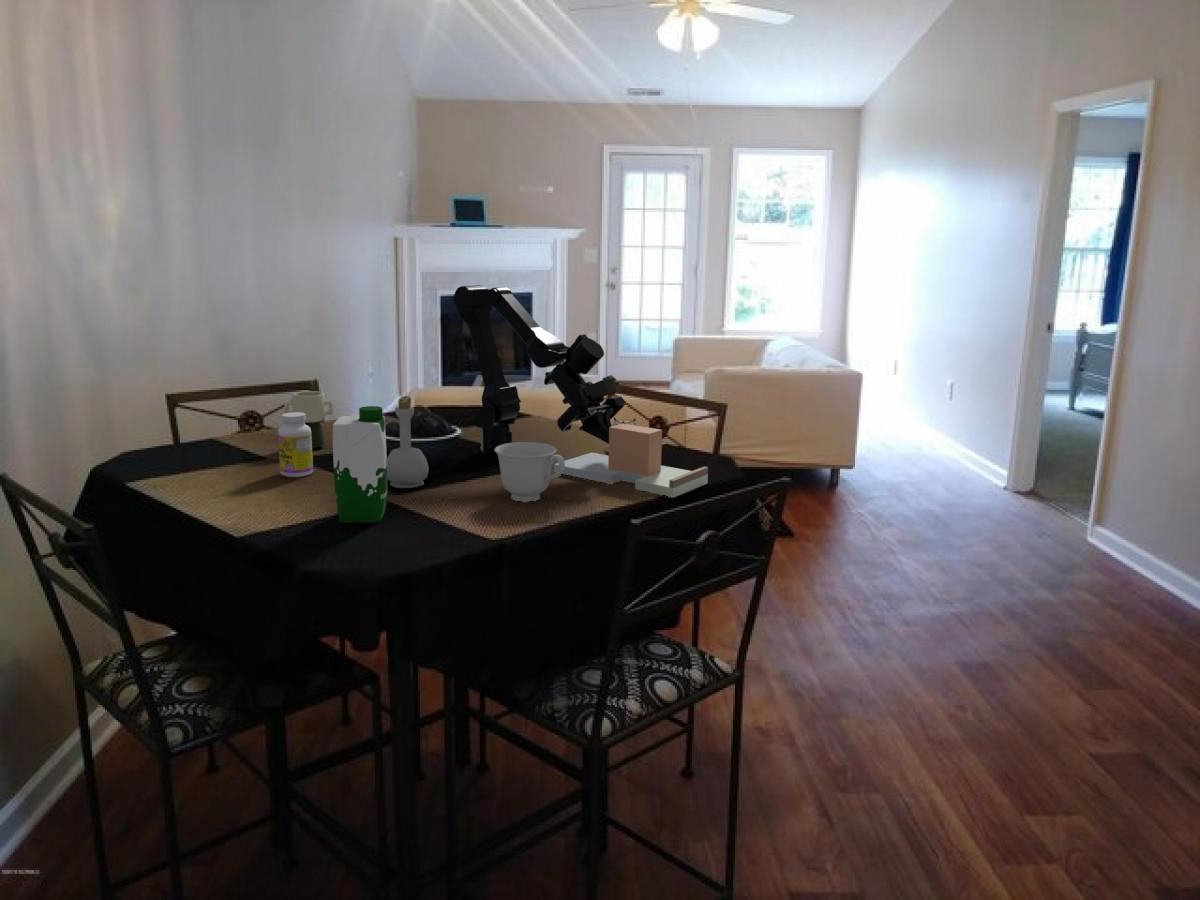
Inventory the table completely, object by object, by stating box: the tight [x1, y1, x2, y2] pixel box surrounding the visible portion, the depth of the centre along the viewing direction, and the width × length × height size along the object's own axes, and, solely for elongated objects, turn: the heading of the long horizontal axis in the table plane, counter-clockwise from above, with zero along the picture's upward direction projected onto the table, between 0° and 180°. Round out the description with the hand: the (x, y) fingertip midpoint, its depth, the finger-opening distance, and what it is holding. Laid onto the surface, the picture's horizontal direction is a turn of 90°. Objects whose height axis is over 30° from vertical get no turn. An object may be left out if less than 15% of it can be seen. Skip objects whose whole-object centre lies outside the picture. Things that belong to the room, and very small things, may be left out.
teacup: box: [495, 441, 565, 503], centre depth 180 cm, size 12×15×10 cm
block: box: [608, 423, 663, 476], centre depth 196 cm, size 10×5×9 cm, turn 55°
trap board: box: [553, 452, 709, 499], centre depth 198 cm, size 30×14×4 cm, turn 55°
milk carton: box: [332, 405, 388, 524], centre depth 166 cm, size 9×9×20 cm
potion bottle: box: [387, 395, 430, 489], centre depth 188 cm, size 9×9×18 cm
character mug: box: [283, 390, 334, 449], centre depth 218 cm, size 11×7×13 cm, turn 103°
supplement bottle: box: [277, 412, 314, 478], centre depth 195 cm, size 7×7×13 cm
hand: (614, 444), depth 199 cm, fingers closed
